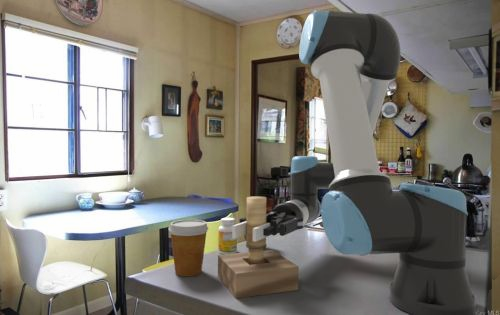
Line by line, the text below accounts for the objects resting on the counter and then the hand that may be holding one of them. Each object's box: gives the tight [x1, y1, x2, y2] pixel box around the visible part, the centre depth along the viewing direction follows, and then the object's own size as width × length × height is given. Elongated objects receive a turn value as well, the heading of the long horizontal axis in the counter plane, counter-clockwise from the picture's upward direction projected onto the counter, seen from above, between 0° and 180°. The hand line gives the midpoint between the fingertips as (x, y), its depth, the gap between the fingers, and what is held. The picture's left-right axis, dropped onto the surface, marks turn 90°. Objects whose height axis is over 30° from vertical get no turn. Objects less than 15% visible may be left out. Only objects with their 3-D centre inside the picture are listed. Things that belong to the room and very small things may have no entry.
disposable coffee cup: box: [168, 219, 209, 277], centre depth 92 cm, size 10×10×12 cm
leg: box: [245, 195, 267, 265], centre depth 85 cm, size 5×5×16 cm
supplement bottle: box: [217, 217, 238, 255], centre depth 110 cm, size 5×5×10 cm
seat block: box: [217, 249, 300, 299], centre depth 85 cm, size 14×14×5 cm
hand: (243, 233), depth 81 cm, fingers closed on leg, 4 cm apart
